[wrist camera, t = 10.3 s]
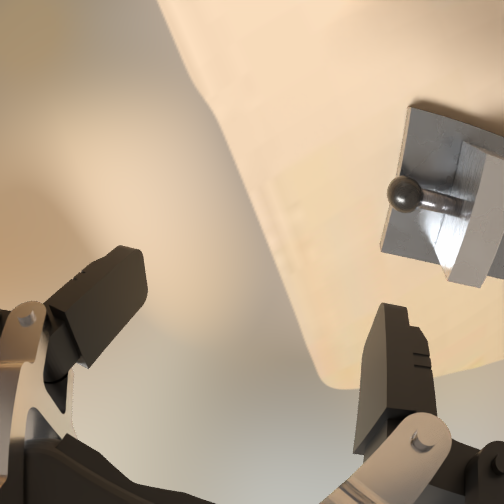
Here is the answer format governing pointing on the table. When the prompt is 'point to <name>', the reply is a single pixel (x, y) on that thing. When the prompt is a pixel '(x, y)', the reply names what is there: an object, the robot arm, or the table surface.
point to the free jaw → (462, 213)
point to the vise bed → (433, 182)
